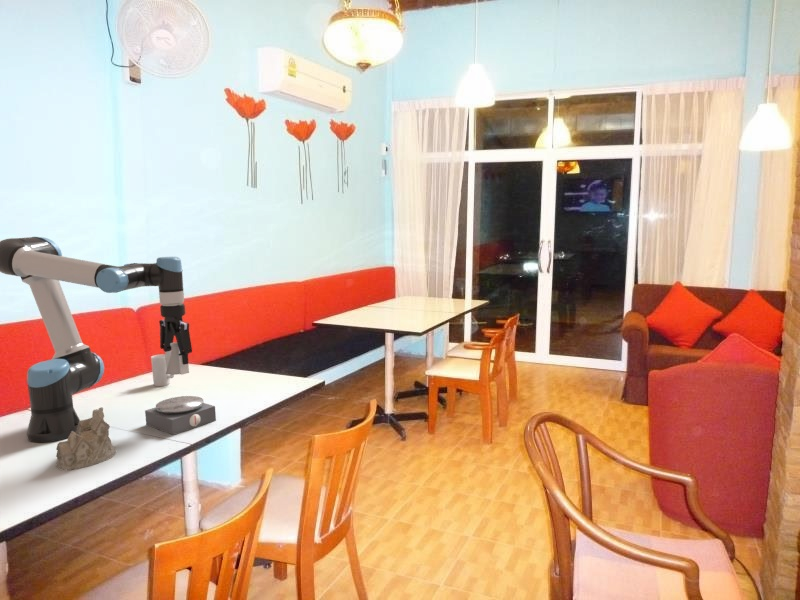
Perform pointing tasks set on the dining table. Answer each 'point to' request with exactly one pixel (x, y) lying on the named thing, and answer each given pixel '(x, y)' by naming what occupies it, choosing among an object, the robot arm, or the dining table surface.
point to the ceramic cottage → (86, 444)
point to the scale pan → (179, 404)
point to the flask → (174, 360)
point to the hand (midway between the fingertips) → (177, 371)
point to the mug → (160, 370)
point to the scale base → (180, 419)
